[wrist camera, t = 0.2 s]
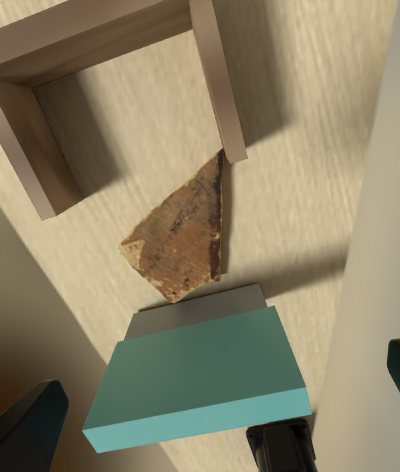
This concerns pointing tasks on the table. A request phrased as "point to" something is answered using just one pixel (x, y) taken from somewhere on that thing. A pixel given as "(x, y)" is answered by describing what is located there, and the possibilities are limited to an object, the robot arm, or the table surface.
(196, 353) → the block
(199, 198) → the shard
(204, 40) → the box
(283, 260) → the table surface
